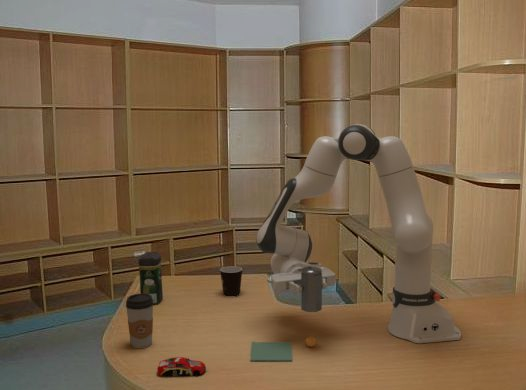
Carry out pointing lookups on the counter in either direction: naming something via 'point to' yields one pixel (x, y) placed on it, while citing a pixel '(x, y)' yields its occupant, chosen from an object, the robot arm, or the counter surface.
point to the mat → (271, 352)
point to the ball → (310, 341)
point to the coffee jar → (151, 275)
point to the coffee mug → (231, 280)
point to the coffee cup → (140, 319)
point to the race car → (180, 367)
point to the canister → (311, 289)
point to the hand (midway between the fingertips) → (312, 288)
